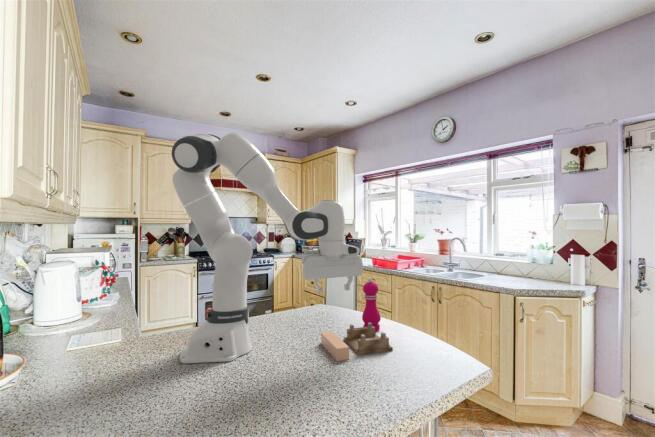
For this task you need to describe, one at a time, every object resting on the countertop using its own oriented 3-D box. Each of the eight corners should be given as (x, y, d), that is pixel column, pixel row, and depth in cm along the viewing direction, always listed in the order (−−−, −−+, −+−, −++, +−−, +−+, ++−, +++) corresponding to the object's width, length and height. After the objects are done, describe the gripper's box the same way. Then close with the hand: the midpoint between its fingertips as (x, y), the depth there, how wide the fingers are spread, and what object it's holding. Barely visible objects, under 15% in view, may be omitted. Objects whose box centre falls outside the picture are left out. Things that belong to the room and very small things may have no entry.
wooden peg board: (357, 355, 100) (357, 337, 100) (344, 340, 113) (343, 324, 113) (392, 350, 103) (392, 333, 103) (375, 336, 116) (374, 321, 116)
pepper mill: (382, 332, 121) (380, 279, 121) (363, 332, 121) (362, 279, 122) (379, 326, 128) (378, 276, 129) (361, 326, 128) (360, 276, 129)
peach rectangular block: (337, 362, 96) (336, 348, 96) (321, 344, 111) (321, 332, 111) (349, 360, 97) (349, 347, 97) (331, 342, 112) (331, 331, 112)
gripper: (303, 251, 99) (304, 295, 99) (364, 248, 104) (365, 290, 104) (299, 250, 105) (300, 291, 105) (357, 247, 110) (358, 286, 110)
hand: (333, 291), depth 104 cm, fingers open, 8 cm apart
